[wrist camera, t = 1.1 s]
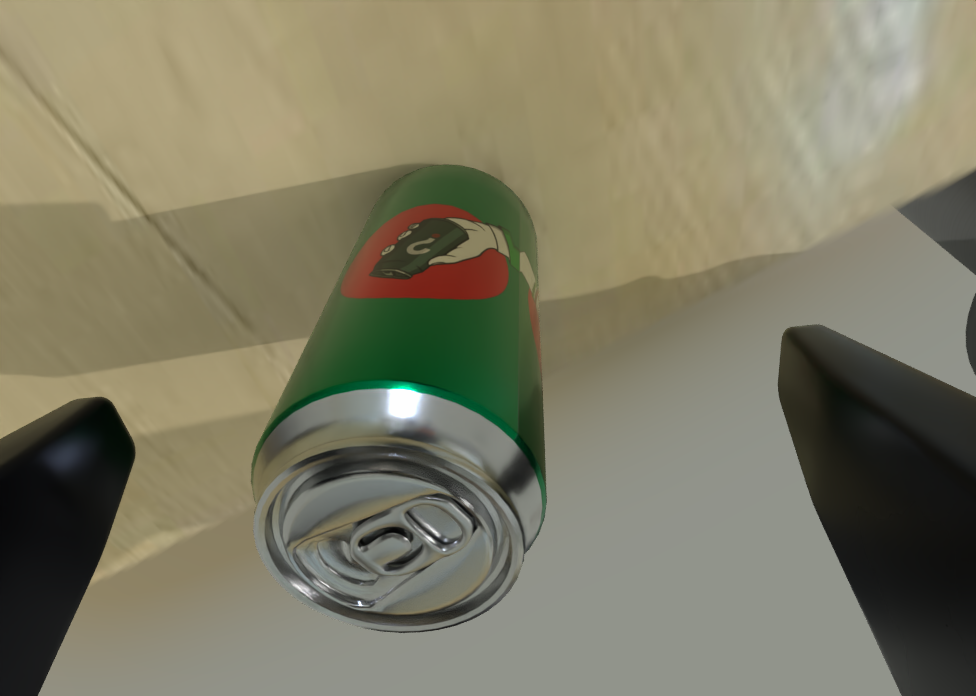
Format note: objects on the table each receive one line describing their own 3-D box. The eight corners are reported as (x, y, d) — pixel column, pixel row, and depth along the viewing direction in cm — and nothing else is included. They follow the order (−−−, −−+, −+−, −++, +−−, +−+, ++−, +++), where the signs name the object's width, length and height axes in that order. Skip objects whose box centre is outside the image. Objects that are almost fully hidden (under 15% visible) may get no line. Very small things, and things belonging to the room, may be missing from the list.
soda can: (335, 223, 21) (160, 522, 11) (466, 121, 19) (402, 365, 9) (441, 339, 23) (377, 680, 13) (569, 256, 21) (610, 578, 11)
